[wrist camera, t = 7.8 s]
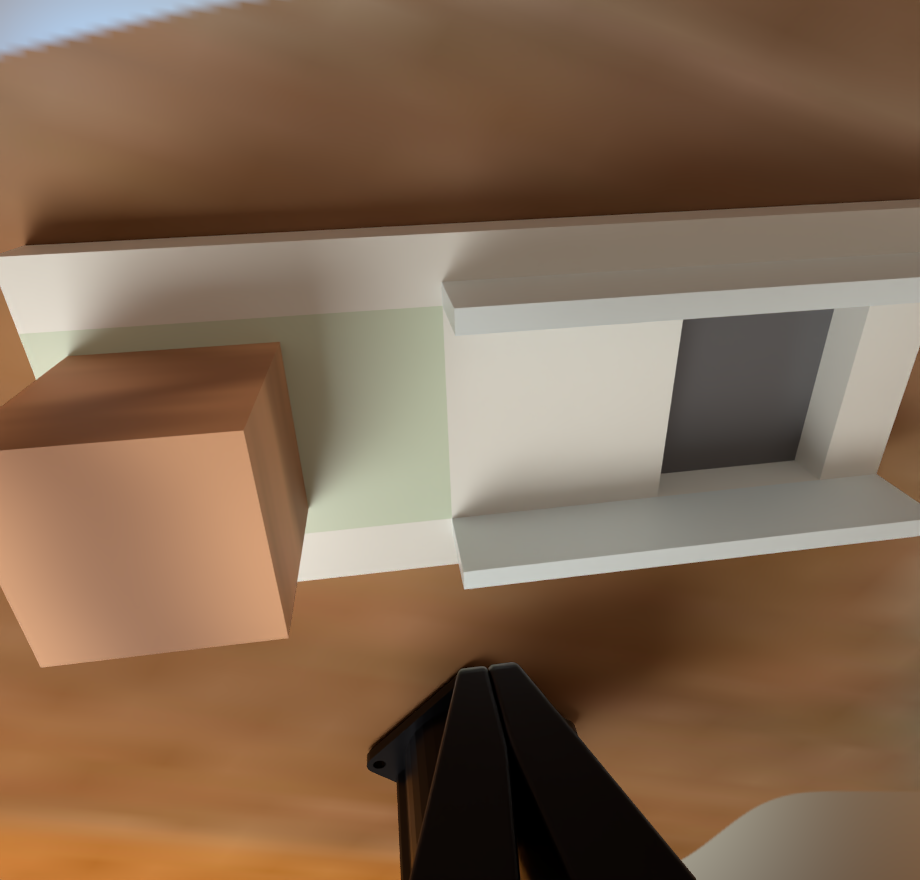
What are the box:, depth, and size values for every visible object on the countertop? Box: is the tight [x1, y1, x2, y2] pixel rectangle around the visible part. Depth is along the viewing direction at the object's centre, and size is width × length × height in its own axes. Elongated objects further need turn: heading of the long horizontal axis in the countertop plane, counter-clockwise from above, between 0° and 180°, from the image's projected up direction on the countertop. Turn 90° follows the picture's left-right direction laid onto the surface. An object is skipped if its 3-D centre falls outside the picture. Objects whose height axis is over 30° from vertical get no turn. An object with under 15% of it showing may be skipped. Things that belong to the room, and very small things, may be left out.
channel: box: [0, 199, 920, 589], centre depth 16 cm, size 24×10×4 cm, turn 92°
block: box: [0, 342, 309, 667], centre depth 14 cm, size 5×5×5 cm
